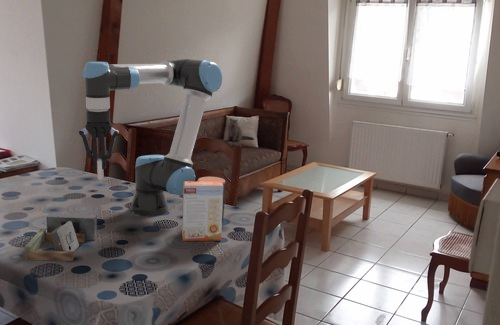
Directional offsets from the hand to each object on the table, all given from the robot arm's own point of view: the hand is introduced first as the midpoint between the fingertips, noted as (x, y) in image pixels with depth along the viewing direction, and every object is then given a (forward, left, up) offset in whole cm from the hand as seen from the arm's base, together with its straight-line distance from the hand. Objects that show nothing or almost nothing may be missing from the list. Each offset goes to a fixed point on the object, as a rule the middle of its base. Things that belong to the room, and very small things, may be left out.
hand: (100, 178), depth 175 cm
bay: (+12, +10, -22) cm, 27 cm away
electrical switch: (+9, +11, -22) cm, 27 cm away
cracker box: (-35, -4, -22) cm, 42 cm away
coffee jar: (-38, -19, -22) cm, 48 cm away
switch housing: (+10, -1, -22) cm, 24 cm away
